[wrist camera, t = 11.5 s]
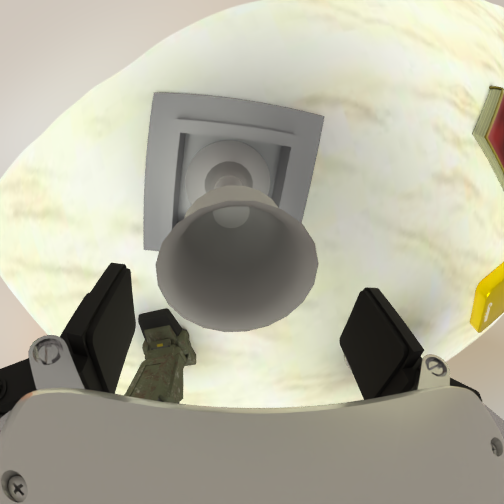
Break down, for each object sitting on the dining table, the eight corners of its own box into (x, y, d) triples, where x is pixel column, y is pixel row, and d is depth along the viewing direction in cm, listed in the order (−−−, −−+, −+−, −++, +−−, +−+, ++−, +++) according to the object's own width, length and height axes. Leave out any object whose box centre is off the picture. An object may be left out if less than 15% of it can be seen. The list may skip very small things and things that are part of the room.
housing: (321, 116, 27) (339, 116, 22) (289, 260, 34) (298, 281, 30) (156, 93, 24) (143, 88, 19) (145, 245, 31) (134, 266, 27)
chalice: (199, 219, 29) (177, 338, 13) (189, 158, 26) (138, 215, 10) (266, 210, 30) (316, 319, 14) (260, 149, 27) (318, 190, 11)
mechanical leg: (118, 300, 34) (107, 526, 11) (163, 289, 34) (172, 540, 11) (162, 348, 43) (171, 520, 20) (200, 341, 43) (221, 521, 20)
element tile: (475, 283, 43) (488, 295, 38) (510, 253, 41) (523, 263, 37) (468, 325, 50) (477, 337, 45) (501, 297, 48) (511, 306, 44)
